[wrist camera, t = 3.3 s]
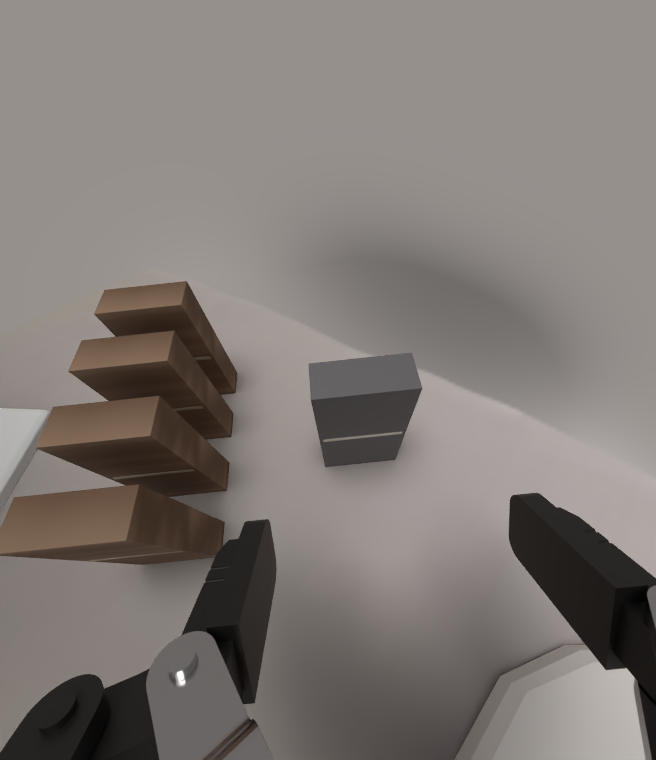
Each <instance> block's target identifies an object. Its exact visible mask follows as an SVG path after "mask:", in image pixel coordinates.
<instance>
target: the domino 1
mask: <svg viewBox="0 0 656 760" xmlns="http://www.w3.org/2000/svg"><path fill="white" fill-rule="evenodd" d="M94 314H95V316H96V317H97V318H98V319H99V320H100V321H101V322H102V323H103V324H104V325H105V326H106V327H107V328H108V329H109V330H110V331H111V332H112V333H113V334H114V335H115V336H116V337H119V336H129V335H138V334H147V333H157V332H166V331H175V332H176V334H177V335H178V337H179V338H180V339H181V341H182V342H183V344H184V345H185V346H186V348H187V349H188V351H189V352H190V353H191V355H192V356H193V358H194V359H195V360H196V362H197V363H198V365H199V366H200V367H201V369H202V370H203V372H204V373H205V375H206V376H207V377H208V379H209V380H210V382H211V383H212V384H213V386H214V387H215V389H216V390H217V391H218V393H219V394H229V393H235V392H236V380H237V372H236V370H235V368H234V367H233V365H232V363H231V361H230V359H229V357H228V356H227V354H226V352H225V350H224V348H223V347H222V345H221V343H220V341H219V339H218V337H217V336H216V334H215V332H214V330H213V328H212V326H211V325H210V323H209V321H208V319H207V317H206V316H205V314H204V312H203V310H202V308H201V306H200V305H199V303H198V301H197V299H196V297H195V296H194V294H193V292H192V290H191V288H190V286H189V285H188V283H187V281H185V282H175V283H166V284H157V285H147V286H138V287H129V288H119V289H110V290H104V293H103V295H102V297H101V299H100V302H99V304H98V306H97V309H96V311H95V313H94Z"/></svg>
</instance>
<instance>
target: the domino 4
mask: <svg viewBox="0 0 656 760" xmlns="http://www.w3.org/2000/svg"><path fill="white" fill-rule="evenodd" d="M223 534H224V522H223V521H221V520H218V519H216V518H214V517H212V516H209V515H207V514H205V513H203V512H200V511H198V510H196V509H194V508H191V507H189V506H187V505H185V504H182V503H180V502H178V501H175V500H173V499H171V498H169V497H166V496H164V495H162V494H160V493H157V492H155V491H153V490H151V489H148V488H146V487H144V486H142V485H139V484H138V485H129V486H119V487H110V488H100V489H91V490H81V491H72V492H62V493H53V494H43V495H34V496H24V497H15V498H14V499H13V501H12V504H11V506H10V508H9V510H8V513H7V515H6V517H5V520H4V522H3V524H2V527H1V529H0V556H14V557H30V558H45V559H61V560H77V561H93V562H109V563H125V564H141V565H144V564H154V563H164V562H173V561H183V560H192V559H202V558H211V557H216V555H217V553H218V552H219V550H220V549H221V548H222V546H223Z"/></svg>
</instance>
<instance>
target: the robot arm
mask: <svg viewBox="0 0 656 760" xmlns="http://www.w3.org/2000/svg"><path fill="white" fill-rule="evenodd" d="M509 540H510V544H511V547H512V550H513V552H514V554H515V555H516V557H517V558H518V560H519V561H520V562H521V563H522V565H523V566H524V567H525V569H526V570H527V571H528V572H529V574H530V575H531V576H532V577H533V579H534V580H535V581H536V582H537V584H538V585H539V586H540V588H541V589H542V590H543V591H544V593H545V594H546V595H547V596H548V598H549V599H550V600H551V601H552V603H553V604H554V605H555V607H556V608H557V609H558V610H559V612H560V613H561V614H562V615H563V617H564V618H565V619H566V620H567V622H568V623H569V624H570V626H571V627H572V628H573V629H574V631H575V632H576V633H577V634H578V636H579V637H580V638H581V639H582V641H583V642H584V643H585V645H586V646H587V647H588V648H589V650H590V651H591V652H592V653H593V655H594V656H595V657H596V658H597V660H598V661H599V662H600V664H601V665H602V666H603V667H604V669H605V670H613V669H624V668H627V669H628V670H629V672H630V673H631V674H632V675H633V676H634V677H635V679H634V695H635V701H636V707H637V712H638V718H639V724H640V730H641V736H642V742H643V748H644V753H645V759H646V760H656V578H655V577H653V576H652V575H651V574H650V573H648V572H647V571H646V570H645V569H643V568H642V567H641V566H640V565H638V564H637V563H636V562H635V561H633V560H632V559H631V558H630V557H628V556H627V555H626V554H625V553H623V552H622V551H621V550H620V549H618V548H617V547H616V546H615V545H613V544H612V543H609V541H608V540H607V539H606V538H605V537H603V536H602V535H601V534H600V533H598V532H597V533H596V531H595V529H594V528H592V527H591V526H590V525H589V524H587V523H586V522H585V521H584V520H582V519H581V518H580V517H578V516H576V515H574V514H572V513H570V512H568V511H566V510H564V509H562V508H560V507H559V508H556V507H555V506H554V505H553V504H551V503H550V502H549V501H548V500H547V499H546V498H544V497H543V496H542V495H541V494H539V493H530V494H520V495H513V496H512V497H511V499H510V515H509ZM275 581H276V557H275V551H274V544H273V538H272V532H271V526H270V522H269V520H268V519H266V520H256V521H246V522H245V523H244V526H243V528H242V531H241V534H240V537H239V539H235V540H229V541H228V542H227V543H226V544H225V545H224V546H223V547H222V548H221V549H220V550H219V552H218V553H217V555H216V557H215V559H214V561H213V564H212V566H211V570H210V571H209V573H208V575H207V578H206V582H205V583H204V585H203V587H202V589H201V591H200V594H199V596H198V598H197V601H196V603H195V605H194V608H193V610H192V612H191V615H190V617H189V619H188V622H187V624H186V626H185V628H184V631H183V633H182V635H181V636H180V637H178V638H176V639H175V640H173V641H172V642H171V643H169V644H168V645H167V646H166V647H165V648H164V649H163V650H162V651H161V652H160V653H159V655H158V656H157V657H156V659H155V660H154V662H153V664H152V665H151V667H150V669H148V670H146V671H144V672H142V673H140V674H138V675H136V676H133V677H131V678H129V679H126V680H124V681H122V682H119V683H117V684H115V685H112V686H110V687H108V688H105V689H104V687H103V684H102V681H101V679H100V678H99V677H97V676H95V675H91V674H86V675H80V676H77V677H74V678H72V679H70V680H68V681H66V682H64V683H62V684H61V685H59V686H57V687H56V688H55V689H53V690H52V691H50V692H49V693H48V694H47V695H46V696H44V697H43V698H42V699H41V700H40V701H39V702H38V703H37V704H36V705H35V706H34V707H33V708H32V709H31V710H30V712H29V713H28V714H27V715H26V717H25V718H24V719H23V721H22V722H21V723H20V725H19V726H18V728H17V729H16V731H15V732H14V734H13V735H12V736H11V738H10V739H9V741H8V742H7V744H6V745H5V747H4V748H3V750H2V751H1V752H0V760H274V759H273V757H272V755H271V752H270V750H269V748H268V746H267V744H266V741H265V739H264V737H263V735H262V733H261V731H260V729H259V727H258V725H257V723H256V722H255V720H254V719H252V720H250V718H249V716H248V714H247V712H246V710H245V708H244V705H243V704H251V703H255V698H256V692H257V686H258V680H259V675H260V669H261V663H262V657H263V651H264V646H265V640H266V634H267V628H268V622H269V616H270V611H271V605H272V599H273V593H274V587H275Z"/></svg>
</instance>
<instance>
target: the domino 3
mask: <svg viewBox="0 0 656 760" xmlns="http://www.w3.org/2000/svg"><path fill="white" fill-rule="evenodd" d="M36 448H37V449H39V450H42V451H44V452H46V453H49V454H51V455H54V456H56V457H58V458H61V459H63V460H66V461H68V462H70V463H73V464H75V465H78V466H80V467H83V468H85V469H87V470H90V471H92V472H95V473H97V474H99V475H102V476H104V477H107V478H109V479H112V480H114V481H116V482H119V483H121V484H124V485H126V486H129V485H138V484H139V485H142V486H144V487H146V488H148V489H151V490H153V491H155V492H157V493H160V494H162V495H164V496H166V497H170V496H180V495H189V494H199V493H208V492H218V491H227V483H228V472H229V462H228V461H227V460H226V459H225V458H224V457H223V456H222V455H221V454H220V453H219V452H218V451H217V450H216V449H215V448H213V447H212V446H211V445H210V444H209V443H208V442H207V441H206V440H205V439H204V438H203V437H202V436H201V435H200V434H199V433H198V432H197V431H196V430H195V429H194V428H193V427H192V426H191V425H189V424H188V423H187V422H186V421H185V420H184V419H183V418H182V417H181V416H180V415H179V414H178V413H177V412H176V411H175V410H174V409H173V408H172V407H171V406H170V405H169V404H168V403H166V402H165V401H164V400H163V399H162V398H161V397H160V396H153V397H143V398H134V399H124V400H115V401H105V402H96V403H87V404H77V405H68V406H58V407H53V409H52V411H51V413H50V416H49V418H48V420H47V422H46V425H45V427H44V429H43V432H42V434H41V436H40V438H39V441H38V443H37V445H36Z"/></svg>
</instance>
